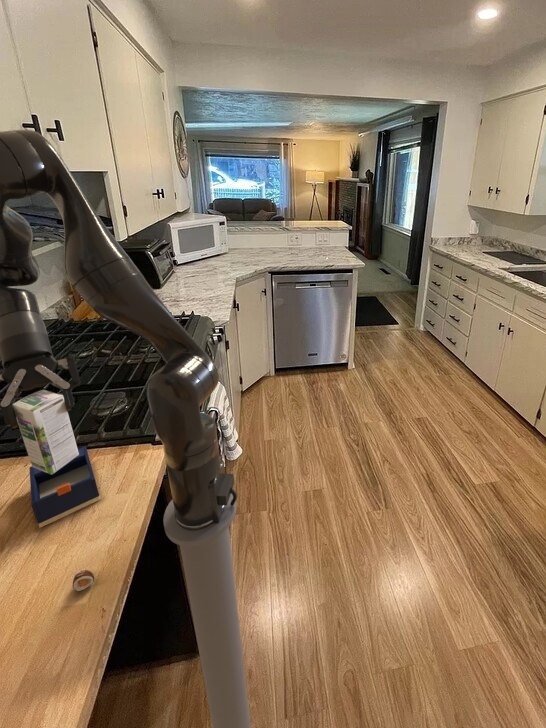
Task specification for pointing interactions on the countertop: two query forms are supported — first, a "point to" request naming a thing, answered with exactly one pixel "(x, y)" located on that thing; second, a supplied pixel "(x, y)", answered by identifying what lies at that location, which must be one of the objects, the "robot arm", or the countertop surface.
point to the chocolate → (82, 580)
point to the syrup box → (46, 430)
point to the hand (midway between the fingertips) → (43, 418)
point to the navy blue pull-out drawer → (63, 489)
